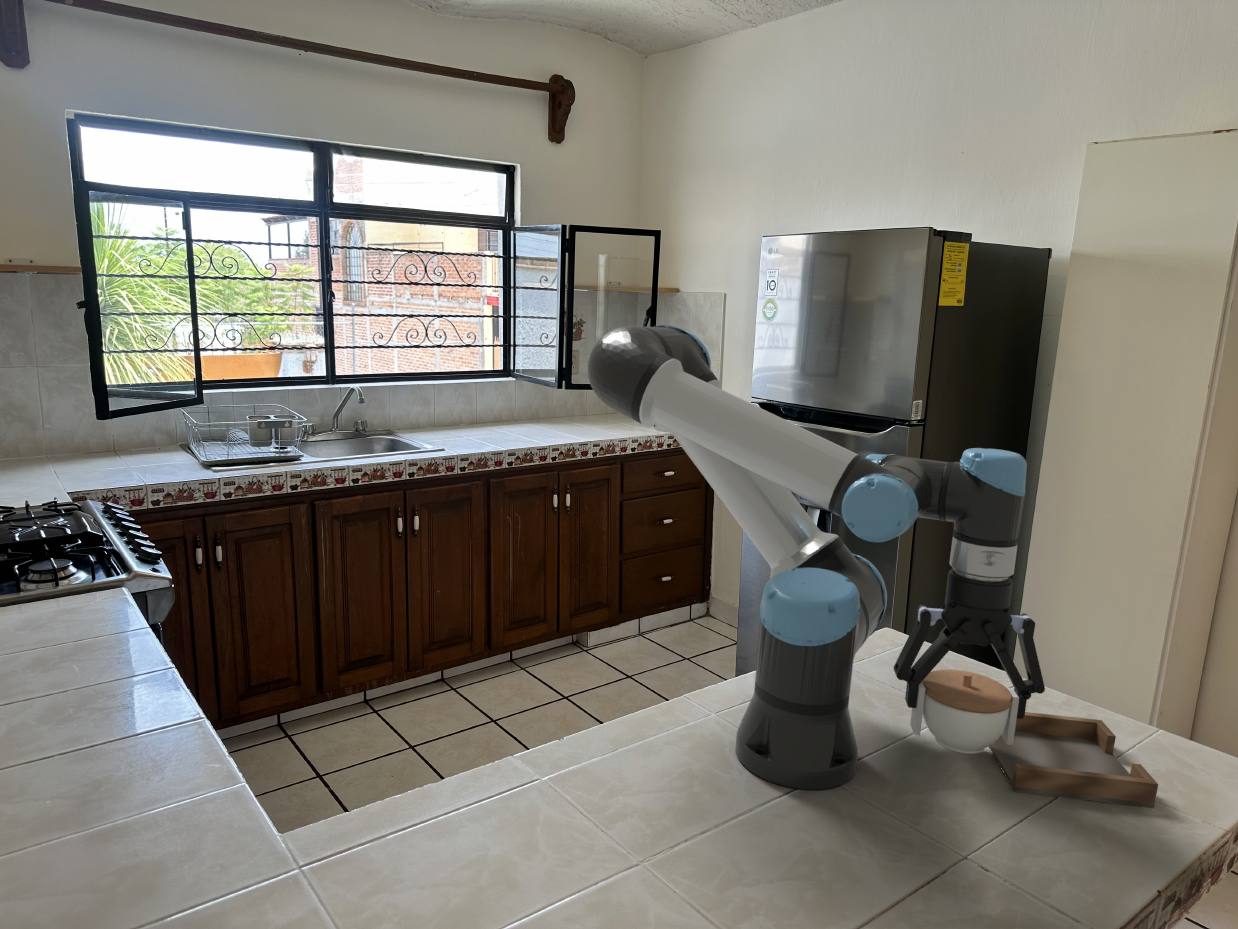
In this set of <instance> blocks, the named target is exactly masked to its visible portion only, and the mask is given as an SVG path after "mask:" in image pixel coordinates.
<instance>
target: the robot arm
mask: <svg viewBox="0 0 1238 929" xmlns="http://www.w3.org/2000/svg"><path fill="white" fill-rule="evenodd" d="M711 365H712V361H711V358H710V354H709V351H708V349H707V347H706V345H705V344H704V343H703V342H702V341H701V339H700V338H699V337H697V336H696V335H695V334H694V333H692V332H690V331H688V330H686V329H683V328H681V327H680V328H679V327H678V326H673V325H667V324H665V325H664V324H661V325H654V326H637V325H625V326H619V327H616V328H614V329H611V330H610V331H608V332H606V333H604V334H603V335H602V336H601V337H600V338H599V339H598V340H597V341H596V343H595V344H594V346H593V348H592V349H591V352H590V354H589V357H588V360H587V377H588V381H589V383H590V384H589V385H590V387H591V389H592V390H593V392H594V394H595V395H596V397H597V398H598V399H599V400H600V401H601V402H602V403H603V404H604V405H605V406H607V407H609V408H610V409H612V410H614V411H615V412H618V413H619V414H621V415H623V416H624V417H627V418H628V419H631V420H632V421H633V420H634V421H635V422H637V423H638V424H641V425H642V426H645V427H647V428H648V427H654V429H655V430H656V431H657V432H661V433H662V432H663V433H669V434H671V435H672V436H673V437H674V438H675V440H676V441H677V442H678V444H679V445H680V447H681V448H682V450H683V451H684V452H685V454H686V455H687V456H688V458H689V459H690V460H691V461H692V463H693V464H694V466H696V467H695V468H697V469H698V471H699V472H700V474H701V475H702V476H703V477H704V479H705V480H706V482H707V483H708V484H709V485H710V486H709V487H711V489H713V492H715V493H716V495H717V496H718V497H719V499H720V500H721V502H722V503H723V505H724V506H725V508H726V509H727V510H728V511H729V512H730V514H731V515H732V517H733V518H734V519H735V521H736V522H737V524H738V525H739V526H740V527H741V529H742V530H743V531H744V534H746V535H747V537H748V538H749V539H750V541H751V542H752V543H753V545H754V546H755V547H756V549H757V550H758V552H759V553H760V555H762V557H763V558H764V560H765V561H766V562H767V563H768V565H769V567H770V576H769V579H768V581H767V582H766V583H765V586H764V588H763V593H762V598H761V600H760V607H759V617H760V618H759V629H758V630H759V631H758V643H757V651H756V652H757V656H756V666H755V667H756V668H755V679H754V680H755V681H754V690H753V695H752V697H751V699H750V702H749V704H748V706H747V707H746V710H745V712H744V715H743V717H742V719H741V721H740V723H739V725H738V728H737V732H736V739H735V747H734V748H735V749H734V750H735V755H736V756H737V759H738V760H739V762H740V763H741V764H742V765H743V766H744V767H745V769H747V770H748V771H749V772H751V773H753V774H754V775H755V776H758V777H760V778H762V779H764V780H765V781H768V782H771V783H774V784H777V785H780V786H782V787H790V788H793V789H799V790H802V789H803V790H824V789H825V790H826V789H827V790H828V789H832V788H835V787H838V786H841V785H844V784H846V783H848V782H849V781H851V779H852V778H853V777H854V776H855V774H856V771H857V766H858V757H859V749H858V745H857V744H858V743H857V741H856V740H857V739H856V736H855V732H854V728H853V723H852V718H851V714H850V709H849V704H850V694H851V687H852V686H851V685H852V678H853V669H854V668H853V667H854V660H855V656H856V654H857V653H858V651H859V650H860V649H861V647H862V646H863V645H864V644H865V643H866V641H867V640H868V639H869V637H870V636H872V635H873V634H874V633H875V632H876V631H877V629H878V628H879V627H880V624H881V623H882V620H883V618H884V616H885V612H886V609H887V602H888V591H887V587H886V583H885V580H884V578H883V575H882V574H881V573H880V571H879V570H878V568H877V567H876V566H875V565H874V564H873V563H872V562H871V561H870V560H868V559H866V558H865V557H862V556H861V555H860V554H859V555H858V554H854V553H852V551H851V550H850V549H849V548H848V547H847V545H846V544H845V543H844V542H843V540H842V538H840V536H839V535H838V534H836V533H828V532H824V531H821V529H819V527H818V526H817V524H816V523H815V522H814V520H813V519H812V518H811V516H810V515H809V514H808V512H806V510H805V509H804V507H803V506H802V505H801V503H800V502H799V501H798V500H797V498H796V497H795V496H794V494H795V495H797V496H800V498H803V499H805V500H807V501H809V502H811V503H813V504H815V505H817V506H819V507H821V508H823V509H825V510H827V511H829V512H831V513H832V514H835V515H836V516H839V517H840V518H842V519H843V522H844V523H845V524H846V526H847V528H848V529H849V530H850V532H851V533H853V534H854V535H855V536H856V537H857V538H860V539H861V540H864V541H866V542H872V543H884V542H887V541H890V540H893V539H895V538H897V537H899V536H901V535H903V534H904V533H906V532H907V531H908V530H909V529H910V527H912V526H913V525H914V524H915V522H916V520H917V519H919V518H920V519H930V520H938V521H940V522H950V523H953V531H952V539H951V550H950V554H949V556H950V557H949V565H950V567H952V568H950V570H948V572H947V573H948V574H947V581H946V589H945V599H944V602H943V605H942V606H941V607H940V608H932V607H927V606H926V604H920V605H918V607H917V609H916V610H917V611H916V612H917V613H916V619H915V624H914V626H913V627H912V629H911V631H910V633H909V635H908V638H907V639H906V641H905V642H904V643H905V644H904V645H903V647H902V650H900V653H899V655H898V657H897V659H896V661H895V662H894V665H893V671H894V674H895V677H896V678H897V679H898V680H900V681H904V682H906V688H905V697H904V700H905V703H906V705H907V707H908V708H911V712H910V713H911V716H910V724H909V725H910V727H911V731H912V733H913V735H914V736H921V730H922V722H923V707H924V698H925V689H926V688H925V686H924V684H923V682H922V681H923V680H924V679H925V678H926V676H927V675H928V674H929V673H930V672H932V671H934V668H935V667H936V666H937V665H938V664H939V663H940V661H942V659H943V658H944V657H945V656H946V655H947V654H948V652H950V650H953V649H955V647H956V646H957V645H959V643H960V644H961V645H967V646H969V645H977V646H980V647H988V645H990V646H991V647H992V649H993V650H994V653H995V654H996V656H997V658H998V660H999V662H1000V663H1001V666H1002V667H1003V669H1004V672H1005V673H1006V675H1007V677H1008V678H1009V681H1010V682H1011V684H1012V685H1013V687H1014V688H1012V687H1006V688H1007V689H1008V690H1009V691H1010V693H1011V695H1012V700H1011V705H1010V707H1009V713H1008V719H1007V722H1006V726H1005V728H1004V730H1003V733H1002V734H1001V736H1002V738H1003V739H1004V741H1005V742H1006V744H1007V745H1013V741H1014V733H1015V726H1016V719H1017V718H1018V719H1023V717H1024V716H1025V712H1026V709H1027V708H1026V707H1027V702H1028V701H1027V700H1030V699H1031V698H1032V694H1035V693H1036V694H1039V695H1040V694H1043V693H1044V692H1045V691H1046V688H1045V682H1044V678H1043V675H1042V670H1041V666H1040V660H1039V657H1038V652H1037V649H1036V643H1035V638H1034V637H1035V636H1034V634H1035V629H1036V622H1035V620H1034V619H1032V618H1031V617H1030V616H1029V614H1027V613H1024V612H1023V613H1021V614H1019V615H1018V614H1017V615H1014V614H1011V613H1010V606H1011V599H1012V592H1013V586H1014V585H1013V584H1014V580H1013V579H1012V578H1011V576H1013V575H1014V574H1015V568H1016V567H1015V566H1016V559H1017V552H1018V543H1019V538H1020V537H1019V536H1020V532H1021V524H1022V517H1023V512H1024V511H1023V510H1024V506H1025V505H1024V504H1025V499H1026V498H1025V497H1026V492H1027V491H1026V486H1027V485H1026V484H1027V483H1026V482H1027V472H1028V471H1027V470H1028V463H1027V460H1026V459H1025V457H1024V456H1023V455H1021V454H1020V453H1018V452H1014V451H1011V450H1004V449H997V448H983V447H974V448H968V449H965V450H964V451H963V453H962V455H961V458H960V459H959V461H954V462H953V461H952V462H951V461H940V460H933V459H932V460H931V459H927V458H925V459H924V458H917V457H910V456H901V455H898V454H896V453H889V454H880V453H879V454H878V453H871V454H870V453H869V454H868V455H866V456H865V457H864V456H861V455H859V454H858V453H856V452H854V451H852V450H850V449H848V448H846V447H843V446H841V445H839V444H836V443H835V442H833V441H830V440H829V439H827V438H825V437H822V436H820V435H818V434H816V433H814V432H812V431H810V430H807V429H805V428H803V427H802V426H799V425H798V424H795V423H792V422H791V421H789V420H786V419H785V418H783V417H780V416H778V415H776V414H775V413H772V412H769V411H768V410H766V409H763V408H761V407H759V406H757V405H755V404H753V403H751V402H749V401H747V400H744V399H743V398H740V397H738V396H736V395H734V394H733V393H729V392H727V391H726V390H723V389H721V384H722V383H721V381H720V380H719V378H718V377H717V376H716V375H715V373H714V372H713V371H712V369H711ZM940 619H941V620H942V621H943V623H944V625H945V626H944V627H943V628H942V629H941V630H940V631H939V634H938V636H937V638H935V640H934V641H933V642H931V645H930V646H928V648H927V649H926V650H925V652H923V654H922V655H921V656H920V657H919V658H918V659H917V657H918V655H919V652H920V651H921V649H922V647H923V646H924V643H925V642H926V639H927V637H928V634H929V632H930V630H931V629H930V628H931V627H932V626H934V625H936V623H937V621H938V620H940ZM1010 626H1012V628H1013V630H1014V631H1015V632H1016V633H1017V638H1018V642H1019V647H1020V651H1021V655H1022V659H1023V663H1024V669H1025V673H1026V676H1027V677H1026V678H1027V679H1025V680H1024V679H1023V677H1022V675H1021V674H1020V672H1019V670H1018V668H1017V666H1016V665H1015V663H1014V661H1013V658H1012V656H1011V654H1010V653H1009V651H1008V650H1007V647H1006V645H1005V644H1004V642H1003V640H1002V638H1001V635H1002V634H1003V633H1004V632H1005V631H1006V630H1007V629H1008V628H1009V627H1010ZM916 659H917V661H916ZM915 661H916V662H915Z"/></svg>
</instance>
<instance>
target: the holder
mask: <svg viewBox="0 0 1238 929" xmlns="http://www.w3.org/2000/svg"><path fill="white" fill-rule="evenodd" d="M1116 737H1117V736H1116V734H1114V733H1113V731H1112V730H1111V729H1110V728H1109V727H1108V726H1107V724H1105V722H1104V720H1102V719H1093V718H1085V717H1076V716H1067V715H1058V714H1057V715H1056V714H1048V713H1041V712H1040V713H1039V712H1038V713H1037V712H1029V711H1025V716H1024V717H1023V719H1018V718H1017V719H1016V726H1015V733H1014V741H1013V745H1007V744H1006V742H1005V741H1004V739H1003V738H1002V736H1001V735H1000V737H999V738H998V740H997V741H996V742H995V743H993V744H992V745H990V746H989V747H988V748H989V750H990V749H991V750H990V752H991V751H992V752H991V753H993V754H992V755H993V757H994V756H995V757H994V759H995V758H996V759H995V760H996V762H997V764H998V763H999V764H998V765H1000V766H999V768H1000V769H1001V768H1002V769H1001V770H1003V771H1004V773H1003V774H1004V776H1005V775H1006V776H1005V778H1006V777H1007V778H1006V780H1007V779H1008V780H1007V781H1008V783H1009V784H1011V785H1010V787H1011V786H1012V787H1011V788H1012V790H1013V791H1014V792H1015V791H1018V792H1017V793H1024V792H1026V794H1032V793H1033V795H1034V794H1035V795H1042V796H1049V795H1050V796H1049V797H1058V798H1067V799H1076V800H1085V801H1090V802H1091V801H1092V802H1099V803H1100V802H1101V803H1109V804H1117V805H1127V806H1135V807H1142V808H1152V809H1154V808H1155V804H1156V799H1157V792H1158V789H1159V784H1158V782H1157V781H1156V780H1155V779H1154V777H1153V776H1152V775H1151V774H1150V773H1149V772H1148V771H1147V770H1146V769H1145V767H1144V766H1143V765H1142V764H1141V763H1131V768H1130V771H1128V770H1127V769H1126V767H1125V766H1124V765H1123V764H1122V762H1120V760H1119V759H1118V758H1117V757H1116V755H1114V749H1115V745H1116V744H1115V743H1116ZM1003 771H1002V772H1003Z"/></svg>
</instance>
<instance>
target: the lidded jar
mask: <svg viewBox="0 0 1238 929" xmlns="http://www.w3.org/2000/svg"><path fill="white" fill-rule="evenodd" d="M922 682H923V684H924V686H925V688H926V689H925V698H924V707H923V715H922V719H923V721H924V723H925V725H926V727H927V730H929V732H930V733H931V734H932V736H933V737H934V739H935V740H936V741H935V740H934V741H935V742H936V743H938V744H939V745H940V746H942V747H943V748H945V749H948V750H949V751H951V752H954V753H960V754H967V755H973V754H980V753H982V752H984V751H985V750H986V748H989V746H990V745H992V744H993V743H995V742H996V741H997V740H998V738H999V737H1000V735H1001V734H1002V733H1003V730H1004V728H1005V726H1006V722H1007V719H1008V713H1009V707H1010V705H1011V700H1012V695H1011V693H1010V691H1009V690H1008V689H1007V688H1008V687H1006V686H1005V685H1004V684H1003V683H1001V682H999V681H997V680H995V679H993V678H991V677H987V676H985V675H982V674H979V673H975V672H971V671H966V670H960V669H937V670H932V671H931V672H930V673H929V674H928V675H927V676H926V678H925V679H924V680H923V681H922Z"/></svg>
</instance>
